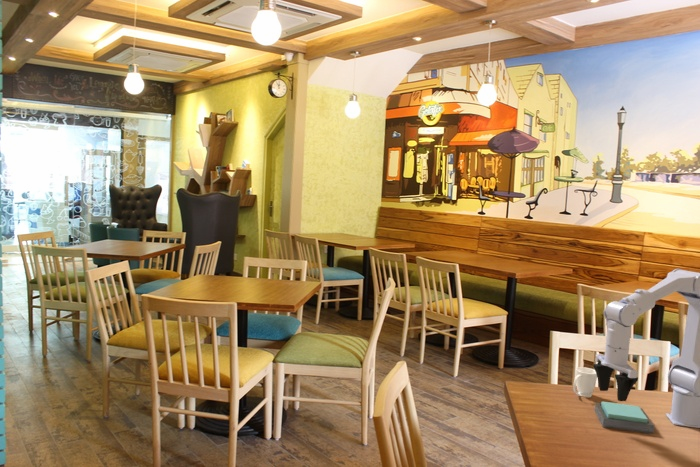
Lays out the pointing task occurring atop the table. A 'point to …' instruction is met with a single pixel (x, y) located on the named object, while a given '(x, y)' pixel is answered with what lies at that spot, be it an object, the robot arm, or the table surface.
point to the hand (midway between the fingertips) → (612, 395)
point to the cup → (584, 381)
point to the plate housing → (624, 422)
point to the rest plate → (623, 412)
